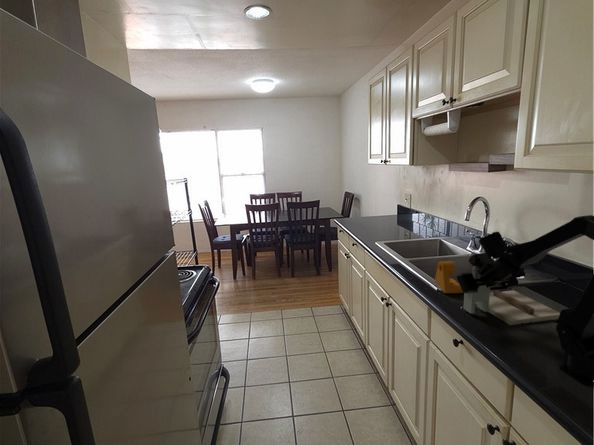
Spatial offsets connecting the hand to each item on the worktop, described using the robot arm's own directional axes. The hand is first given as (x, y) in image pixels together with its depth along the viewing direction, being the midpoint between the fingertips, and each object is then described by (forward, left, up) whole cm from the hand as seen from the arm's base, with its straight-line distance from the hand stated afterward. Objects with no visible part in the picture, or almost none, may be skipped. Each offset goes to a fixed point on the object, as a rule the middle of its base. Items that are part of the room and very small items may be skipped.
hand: (474, 290), depth 112 cm
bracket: (+19, -3, -8) cm, 20 cm away
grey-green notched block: (-1, 0, -7) cm, 7 cm away
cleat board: (-1, -14, -8) cm, 16 cm away
